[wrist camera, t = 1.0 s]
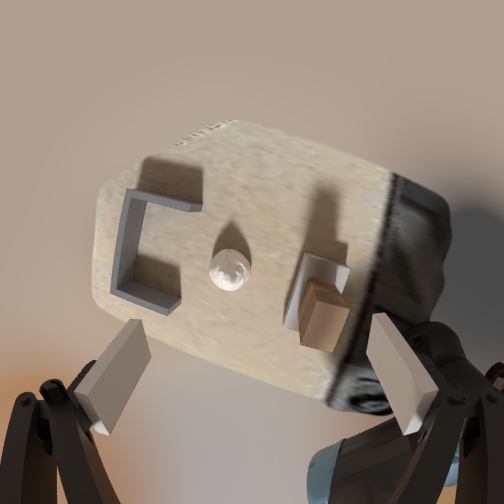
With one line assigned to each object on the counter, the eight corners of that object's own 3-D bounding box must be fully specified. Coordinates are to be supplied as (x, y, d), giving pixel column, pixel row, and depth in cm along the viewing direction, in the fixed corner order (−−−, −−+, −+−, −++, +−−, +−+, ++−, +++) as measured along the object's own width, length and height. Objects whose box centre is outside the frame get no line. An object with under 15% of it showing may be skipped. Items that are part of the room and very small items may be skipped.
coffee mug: (505, 349, 36) (531, 371, 26) (508, 374, 36) (531, 395, 26) (464, 386, 38) (487, 414, 28) (470, 407, 38) (489, 434, 29)
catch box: (202, 204, 38) (190, 204, 33) (180, 304, 41) (167, 316, 36) (143, 189, 39) (126, 188, 34) (126, 284, 42) (109, 293, 37)
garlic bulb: (254, 280, 33) (222, 309, 34) (258, 268, 39) (231, 294, 40) (220, 246, 33) (190, 277, 34) (230, 240, 39) (204, 267, 40)
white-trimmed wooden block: (345, 264, 37) (370, 288, 26) (322, 329, 39) (334, 374, 27) (304, 252, 38) (312, 272, 26) (283, 318, 40) (281, 361, 28)
